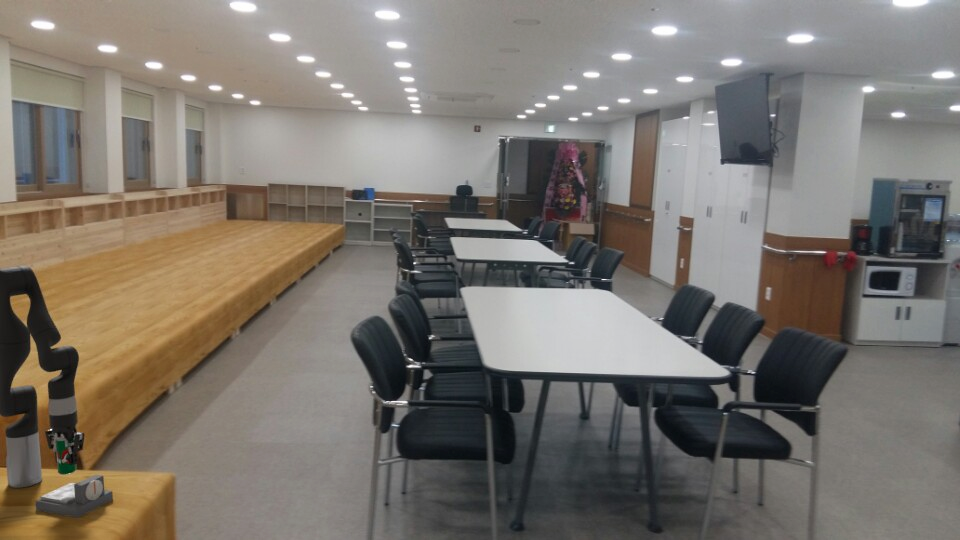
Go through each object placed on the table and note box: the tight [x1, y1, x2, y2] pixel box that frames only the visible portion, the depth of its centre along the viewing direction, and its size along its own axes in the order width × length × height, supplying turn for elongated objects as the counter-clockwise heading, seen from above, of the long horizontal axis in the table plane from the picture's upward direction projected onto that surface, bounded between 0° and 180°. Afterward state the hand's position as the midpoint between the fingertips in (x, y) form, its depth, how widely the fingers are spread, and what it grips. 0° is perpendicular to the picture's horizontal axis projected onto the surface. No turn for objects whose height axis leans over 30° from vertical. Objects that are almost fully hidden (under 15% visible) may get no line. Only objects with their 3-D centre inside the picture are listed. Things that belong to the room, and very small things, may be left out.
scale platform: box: [39, 482, 76, 504], centre depth 219 cm, size 11×11×1 cm
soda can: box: [55, 436, 77, 476], centre depth 217 cm, size 5×5×12 cm
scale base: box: [34, 474, 114, 518], centre depth 218 cm, size 17×13×9 cm
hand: (66, 463), depth 218 cm, fingers closed on soda can, 5 cm apart
